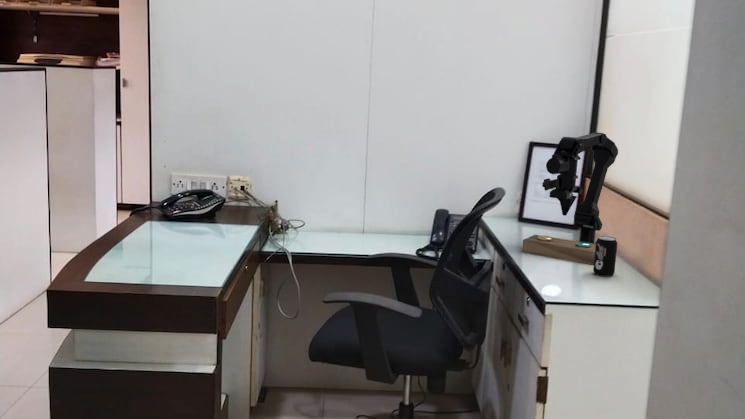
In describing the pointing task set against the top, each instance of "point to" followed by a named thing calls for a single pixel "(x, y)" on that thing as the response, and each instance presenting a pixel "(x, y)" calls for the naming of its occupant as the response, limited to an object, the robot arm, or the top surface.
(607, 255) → the beverage can
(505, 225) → the top surface
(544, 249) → the walnut block
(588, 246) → the plunger teal
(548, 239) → the plunger ochre
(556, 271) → the top surface
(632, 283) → the top surface
